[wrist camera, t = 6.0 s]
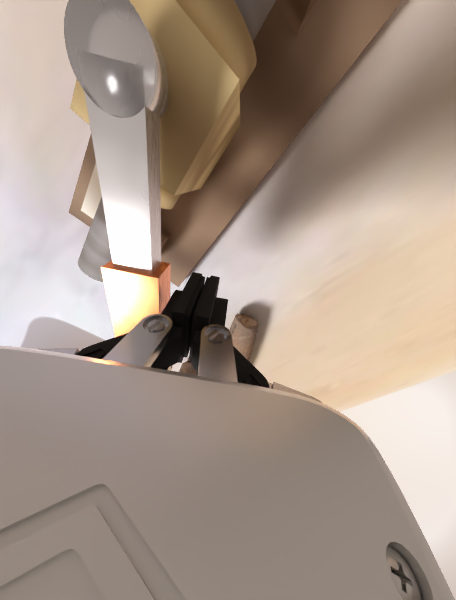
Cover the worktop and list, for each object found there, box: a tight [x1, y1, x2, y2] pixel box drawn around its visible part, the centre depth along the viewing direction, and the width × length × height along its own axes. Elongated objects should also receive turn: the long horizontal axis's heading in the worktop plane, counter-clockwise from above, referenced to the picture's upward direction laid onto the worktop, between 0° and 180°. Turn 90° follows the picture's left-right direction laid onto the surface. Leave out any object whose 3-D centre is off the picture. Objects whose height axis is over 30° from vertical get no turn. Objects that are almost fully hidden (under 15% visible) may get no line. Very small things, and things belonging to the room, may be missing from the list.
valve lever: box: [64, 0, 171, 337], centre depth 9 cm, size 3×15×2 cm, turn 169°
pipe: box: [180, 314, 258, 375], centre depth 27 cm, size 6×17×10 cm
